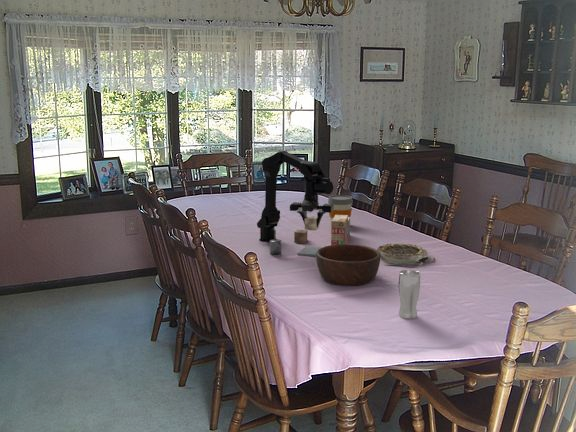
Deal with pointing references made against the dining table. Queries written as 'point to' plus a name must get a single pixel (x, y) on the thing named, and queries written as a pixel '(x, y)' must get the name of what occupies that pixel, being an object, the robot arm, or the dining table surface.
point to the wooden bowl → (348, 264)
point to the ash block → (311, 223)
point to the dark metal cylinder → (275, 247)
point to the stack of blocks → (340, 229)
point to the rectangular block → (300, 236)
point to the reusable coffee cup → (340, 205)
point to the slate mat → (309, 251)
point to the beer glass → (409, 293)
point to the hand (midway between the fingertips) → (311, 226)
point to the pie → (403, 254)
